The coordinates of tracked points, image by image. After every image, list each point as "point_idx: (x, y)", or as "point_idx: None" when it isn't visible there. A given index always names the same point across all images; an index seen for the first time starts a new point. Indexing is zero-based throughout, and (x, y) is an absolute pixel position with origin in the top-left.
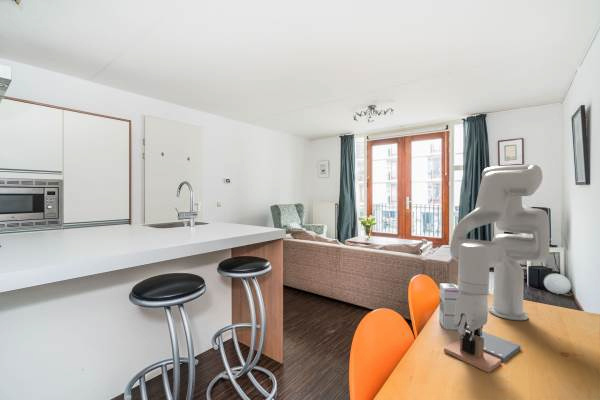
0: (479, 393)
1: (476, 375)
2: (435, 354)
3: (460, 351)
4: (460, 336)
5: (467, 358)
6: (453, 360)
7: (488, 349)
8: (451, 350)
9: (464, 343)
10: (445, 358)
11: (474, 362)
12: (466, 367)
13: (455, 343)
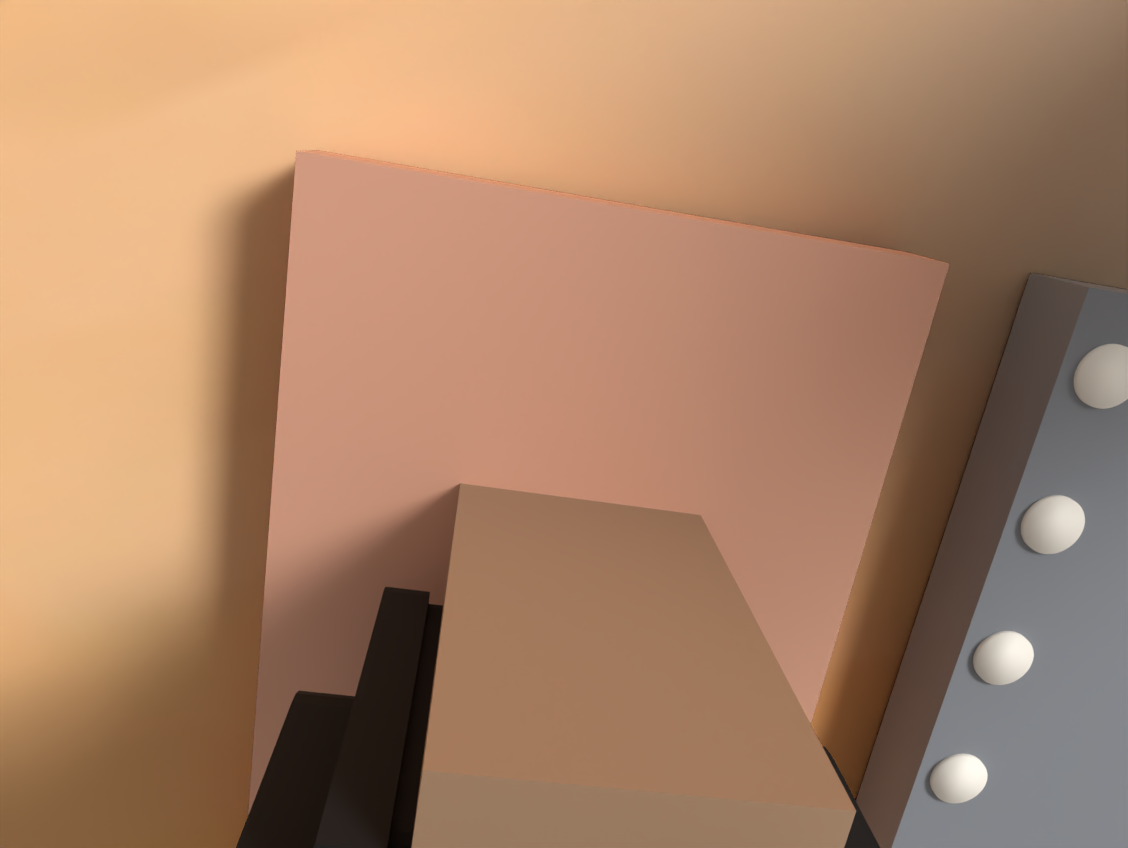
0: None
1: (17, 832)
2: (26, 38)
3: (452, 497)
4: (435, 710)
5: (259, 686)
6: (146, 427)
7: (975, 818)
8: (315, 342)
9: (252, 810)
10: (70, 281)
11: (255, 790)
12: (116, 664)
13: (770, 288)
